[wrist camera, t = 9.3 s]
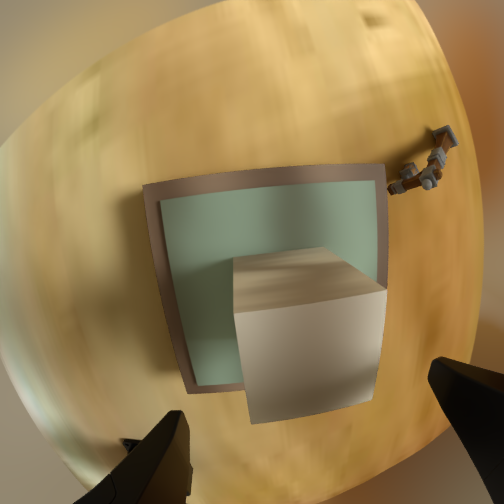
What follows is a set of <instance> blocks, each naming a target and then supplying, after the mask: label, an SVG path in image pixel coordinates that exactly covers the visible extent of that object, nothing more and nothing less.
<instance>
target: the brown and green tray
mask: <svg viewBox="0 0 504 504" xmlns="http://www.w3.org/2000/svg"><path fill="white" fill-rule="evenodd" d="M142 186H143V195H144V203H145V210H146V218H147V224H148V231H149V237H150V243H151V249H152V255H153V260H154V266H155V271H156V276H157V281H158V286H159V290H160V295H161V299H162V304H163V308H164V312H165V317H166V321H167V325H168V329H169V333H170V336H171V340H172V344H173V348H174V351H175V355H176V358H177V362H178V365H179V368H180V372H181V375H182V378H183V382H184V385H185V388H186V391H187V394H201V393H217V392H230V391H241V390H245V385H244V379H243V373H242V367H241V360H240V354H239V347H238V341H237V334H236V327H235V320H234V312H233V257H239V256H248V255H256V254H265V253H273V252H282V251H291V250H299V249H308V248H316V247H325V248H326V249H328V250H329V251H331V252H332V253H334V254H335V255H337V256H338V257H340V258H341V259H343V260H344V261H346V262H347V263H349V264H350V265H352V266H353V267H355V268H356V269H358V270H359V271H361V272H362V273H364V274H365V275H367V276H368V277H370V278H371V279H372V280H374V281H375V282H377V283H378V284H380V285H381V286H383V287H384V288H385V289H387V279H388V201H387V185H386V172H385V164H328V165H306V166H290V167H276V168H264V169H253V170H243V171H234V172H225V173H217V174H210V175H202V176H195V177H188V178H182V179H175V180H169V181H163V182H157V183H152V184H146V185H142Z"/></svg>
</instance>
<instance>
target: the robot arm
mask: <svg viewBox="0 0 504 504" xmlns="http://www.w3.org/2000/svg"><path fill="white" fill-rule="evenodd" d="M428 382H429V384H430V386H431V388H432V390H433V392H434V394H435V396H436V398H437V400H438V402H439V404H440V406H441V408H442V410H443V412H444V414H445V415H446V417H447V418H448V420H449V422H450V423H451V425H452V427H453V428H454V430H455V432H456V433H457V435H458V437H459V438H460V440H461V442H462V443H463V445H464V447H465V448H466V450H467V452H468V454H469V456H470V458H471V459H472V461H473V463H474V465H475V467H476V468H477V470H478V472H479V474H480V476H481V478H482V480H483V482H484V484H485V486H486V488H487V490H488V492H489V494H490V496H491V499H492V501H493V503H494V504H504V374H501V373H497V372H494V371H490V370H487V369H483V368H480V367H476V366H472V365H469V364H466V363H462V362H459V361H456V360H452V359H449V358H446V357H438V358H436V359H434V360H433V361H432V363H431V366H430V370H429V373H428ZM123 445H124V447H125V448H126V450H127V451H128V454H127V456H126V457H125V458H124V459H123V460H122V461H121V462H120V463H119V464H118V465H117V466H116V467H115V468H114V469H113V470H112V471H111V472H110V474H108V475H107V476H106V477H105V478H104V479H103V480H102V481H101V482H100V483H99V484H97V485H96V486H95V487H94V488H93V489H92V490H90V491H89V492H88V493H87V494H85V495H84V496H83V497H81V498H80V499H79V500H77V501H76V502H74V503H73V504H186V496H190V495H191V484H192V474H193V468H192V466H191V464H190V430H189V425H188V423H187V420H186V418H185V415H184V413H183V411H181V410H171V411H169V412H168V413H167V414H166V415H165V416H164V417H163V418H162V420H161V421H160V422H159V423H158V424H157V425H156V426H155V427H154V428H153V429H152V430H151V431H150V432H149V433H148V434H147V436H146V437H145V438H144V439H143V440H142V441H134V440H124V441H123Z"/></svg>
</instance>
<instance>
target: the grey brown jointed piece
mask: <svg viewBox="0 0 504 504" xmlns="http://www.w3.org/2000/svg"><path fill="white" fill-rule="evenodd" d="M432 134H433V135H434V137H435V139H436V145H435V149H433V150H431V154H430V156H428V157H429V158H427V161H428V165H427V167H426V168H423V171H421V172H420V173H419V171H418V169H417V166H416V164H414V162H412V163H409V164H406V165H405V168H404V170H401V171H399V173H400V174H401V176H402V177H401V180H398V181H396V183H393V184H390V185H389V186H388V188H387V190H388V191H389V193H390V195H391V196H392V195H394V194H397V193H398V194H401V193H404V192H406V191H407V190H409V189H412V188H416V187H419V186H422V187H423V188H424V189H425V190H430V189H431V188H434V187H437V183H438V180H440V179H441V177H442V172H441V169H443V168H444V165H445V160H446V158H447V157H446V153H447V152H448V150H449V149H450V148H452V147H454V146H457V145H458V144H459V143H458V141H457V139H456V137H455V135H454V133H453V132H452V130H451V128H450V126H449V125H447V126H444V127H442V128H439V129H437V130H434V131H433V133H432ZM417 173H418V174H417ZM416 174H417V175H416Z"/></svg>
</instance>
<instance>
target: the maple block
mask: <svg viewBox="0 0 504 504" xmlns="http://www.w3.org/2000/svg"><path fill="white" fill-rule="evenodd" d="M386 301H387V289H385V288H384V287H383V286H381V285H380V284H378V283H377V282H375V281H374V280H372V279H371V278H370V277H368V276H367V275H365V274H364V273H362V272H361V271H359V270H358V269H356V268H355V267H353V266H352V265H350V264H349V263H347V262H346V261H344V260H343V259H341V258H340V257H338V256H337V255H335V254H334V253H332V252H331V251H329V250H328V249H326V248H325V247H316V248H308V249H299V250H291V251H282V252H273V253H265V254H256V255H248V256H239V257H233V312H234V320H235V327H236V334H237V341H238V347H239V354H240V360H241V367H242V373H243V379H244V385H245V391H246V397H247V403H248V409H249V415H250V421H251V424H259V423H267V422H275V421H282V420H288V419H294V418H299V417H305V416H310V415H315V414H320V413H324V412H328V411H333V410H337V409H341V408H345V407H349V406H352V405H356V404H359V403H363V402H366V401H370V400H372V397H373V392H374V387H375V382H376V377H377V371H378V365H379V359H380V353H381V346H382V339H383V331H384V322H385V312H386Z"/></svg>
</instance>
